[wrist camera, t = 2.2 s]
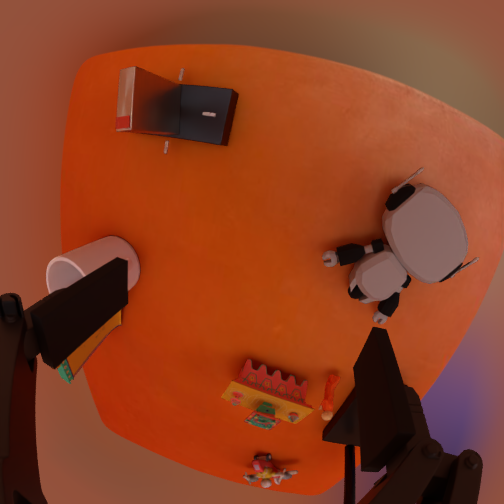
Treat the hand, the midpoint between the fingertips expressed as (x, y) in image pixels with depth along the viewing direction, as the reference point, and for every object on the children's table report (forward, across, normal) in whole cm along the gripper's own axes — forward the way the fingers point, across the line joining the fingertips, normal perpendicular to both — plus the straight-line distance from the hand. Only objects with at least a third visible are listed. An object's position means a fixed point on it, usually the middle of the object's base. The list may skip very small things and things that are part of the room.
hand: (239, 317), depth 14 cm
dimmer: (+19, -14, +11) cm, 26 cm away
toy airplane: (+19, +10, -46) cm, 51 cm away
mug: (+19, -20, -10) cm, 29 cm away
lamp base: (+19, +20, -25) cm, 37 cm away
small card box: (+17, -13, +11) cm, 24 cm away
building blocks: (+18, -5, -19) cm, 27 cm away
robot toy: (+19, +13, +1) cm, 24 cm away
